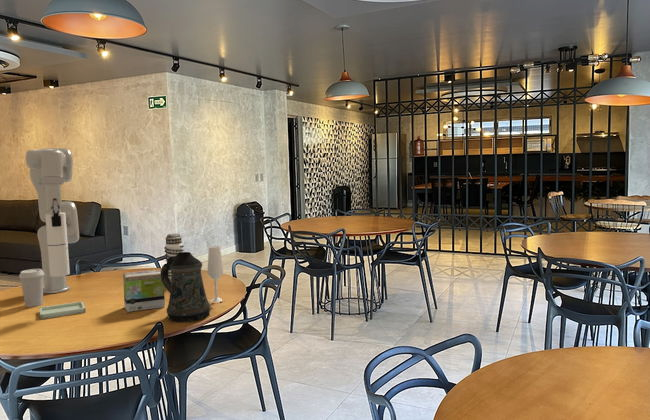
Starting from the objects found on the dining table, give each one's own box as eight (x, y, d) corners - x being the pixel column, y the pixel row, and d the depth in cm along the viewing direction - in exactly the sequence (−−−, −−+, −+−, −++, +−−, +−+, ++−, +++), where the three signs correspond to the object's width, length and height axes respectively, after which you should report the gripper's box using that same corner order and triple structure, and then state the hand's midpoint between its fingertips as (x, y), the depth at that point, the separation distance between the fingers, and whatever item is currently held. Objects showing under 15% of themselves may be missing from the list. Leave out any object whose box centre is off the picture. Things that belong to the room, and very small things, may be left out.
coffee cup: (35, 308, 210) (32, 273, 208) (15, 307, 212) (12, 273, 210) (51, 302, 219) (49, 268, 218) (33, 301, 221) (30, 268, 220)
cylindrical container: (45, 276, 201) (41, 214, 198) (61, 272, 207) (56, 212, 205) (58, 277, 198) (54, 214, 196) (73, 273, 205) (69, 212, 202)
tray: (39, 311, 205) (39, 307, 205) (82, 305, 213) (82, 301, 213) (40, 319, 195) (40, 314, 195) (85, 312, 203) (85, 308, 203)
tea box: (127, 313, 201) (124, 277, 200) (124, 307, 210) (122, 272, 209) (165, 307, 208) (163, 272, 207) (161, 301, 217) (159, 268, 215)
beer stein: (207, 321, 188) (204, 256, 186) (154, 324, 187) (150, 258, 184) (213, 308, 205) (210, 248, 202) (164, 311, 203) (161, 250, 201)
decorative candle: (177, 280, 254) (175, 232, 252) (189, 283, 249) (187, 233, 246) (162, 284, 247) (159, 234, 244) (174, 287, 242) (171, 236, 239)
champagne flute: (220, 304, 211) (218, 248, 209) (206, 303, 213) (203, 247, 210) (227, 299, 218) (224, 245, 216) (212, 299, 219) (210, 245, 217)
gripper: (41, 180, 204) (45, 223, 206) (42, 182, 190) (46, 228, 191) (62, 180, 208) (65, 222, 210) (64, 181, 193) (68, 226, 195)
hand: (56, 225), depth 201 cm, fingers closed on cylindrical container, 7 cm apart
